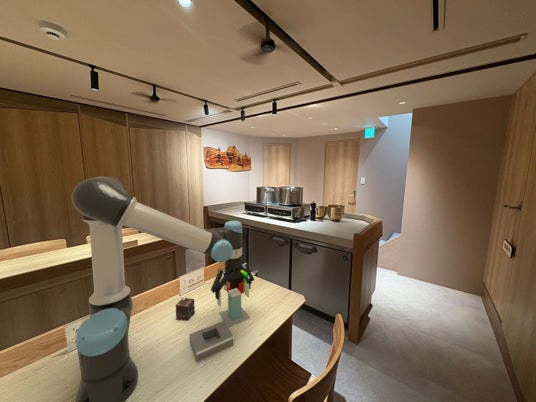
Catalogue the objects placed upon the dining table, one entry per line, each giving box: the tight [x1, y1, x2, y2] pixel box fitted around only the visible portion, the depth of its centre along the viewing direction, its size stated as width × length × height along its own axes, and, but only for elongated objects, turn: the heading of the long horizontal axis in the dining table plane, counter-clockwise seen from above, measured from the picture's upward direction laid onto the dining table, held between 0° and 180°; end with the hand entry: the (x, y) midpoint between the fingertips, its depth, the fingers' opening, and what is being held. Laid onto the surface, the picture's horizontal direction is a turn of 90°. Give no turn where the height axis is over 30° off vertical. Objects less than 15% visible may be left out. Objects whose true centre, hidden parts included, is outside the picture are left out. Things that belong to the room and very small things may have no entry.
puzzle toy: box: [223, 269, 249, 295], centre depth 120 cm, size 10×10×10 cm
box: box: [175, 297, 196, 322], centre depth 97 cm, size 6×6×7 cm
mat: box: [218, 306, 251, 328], centre depth 98 cm, size 11×11×1 cm
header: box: [189, 320, 235, 362], centre depth 82 cm, size 14×10×4 cm
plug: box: [227, 288, 242, 320], centre depth 97 cm, size 4×4×12 cm
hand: (233, 300), depth 97 cm, fingers open, 13 cm apart
